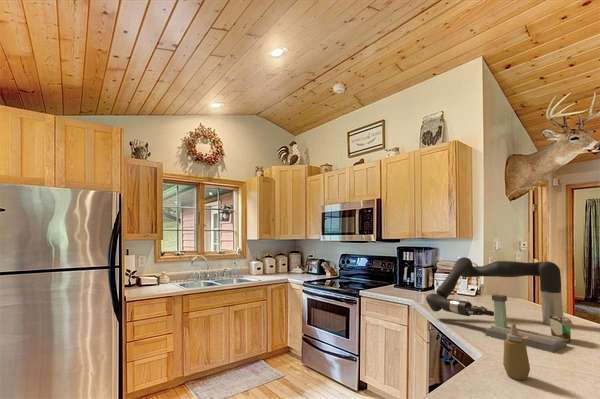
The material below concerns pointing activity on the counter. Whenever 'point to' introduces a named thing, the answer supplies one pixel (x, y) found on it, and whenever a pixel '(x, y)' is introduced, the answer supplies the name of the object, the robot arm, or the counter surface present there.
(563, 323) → the food container
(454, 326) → the counter surface
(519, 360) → the squeeze bottle
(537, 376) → the counter surface
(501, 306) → the fader tab
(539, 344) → the slider console
